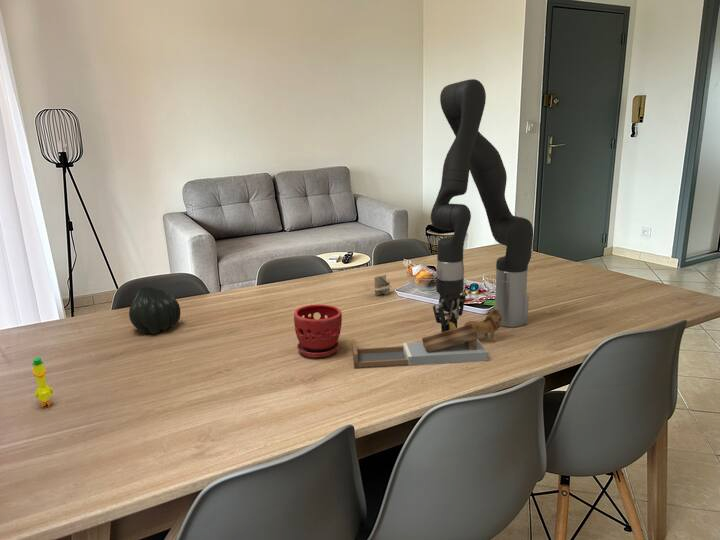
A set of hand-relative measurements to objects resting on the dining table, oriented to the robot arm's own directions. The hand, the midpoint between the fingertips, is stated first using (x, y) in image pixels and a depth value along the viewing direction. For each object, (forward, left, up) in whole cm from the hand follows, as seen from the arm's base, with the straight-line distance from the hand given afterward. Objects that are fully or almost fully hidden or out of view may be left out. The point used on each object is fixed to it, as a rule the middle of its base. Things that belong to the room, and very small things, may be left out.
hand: (449, 333), depth 155 cm
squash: (+89, -24, -3) cm, 92 cm away
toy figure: (+101, +23, -3) cm, 104 cm away
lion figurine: (-9, 0, -3) cm, 9 cm away
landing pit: (+21, +9, -3) cm, 23 cm away
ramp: (+2, +9, 0) cm, 9 cm away
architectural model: (+14, -48, -3) cm, 50 cm away
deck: (+3, +9, -3) cm, 10 cm away
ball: (0, 0, +2) cm, 2 cm away
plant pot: (+37, +1, -3) cm, 37 cm away
